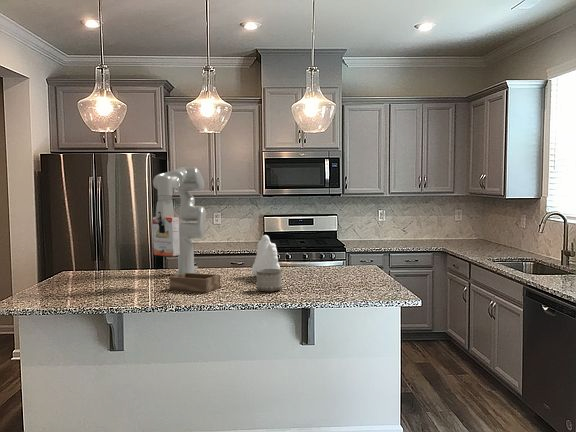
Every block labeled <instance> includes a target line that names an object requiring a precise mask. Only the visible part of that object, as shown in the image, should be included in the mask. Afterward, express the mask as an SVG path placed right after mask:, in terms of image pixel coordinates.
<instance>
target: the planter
mask: <svg viewBox="0 0 576 432" xmlns="http://www.w3.org/2000/svg"><path fill="white" fill-rule="evenodd" d="M256 273H257V276H256V289H257V291H261V292H263V293H264V292H266V293H273V292H276V291H280V290H282V269H281V268H280V269H272V268H269V269H259V270H257V271H256Z"/></svg>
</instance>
